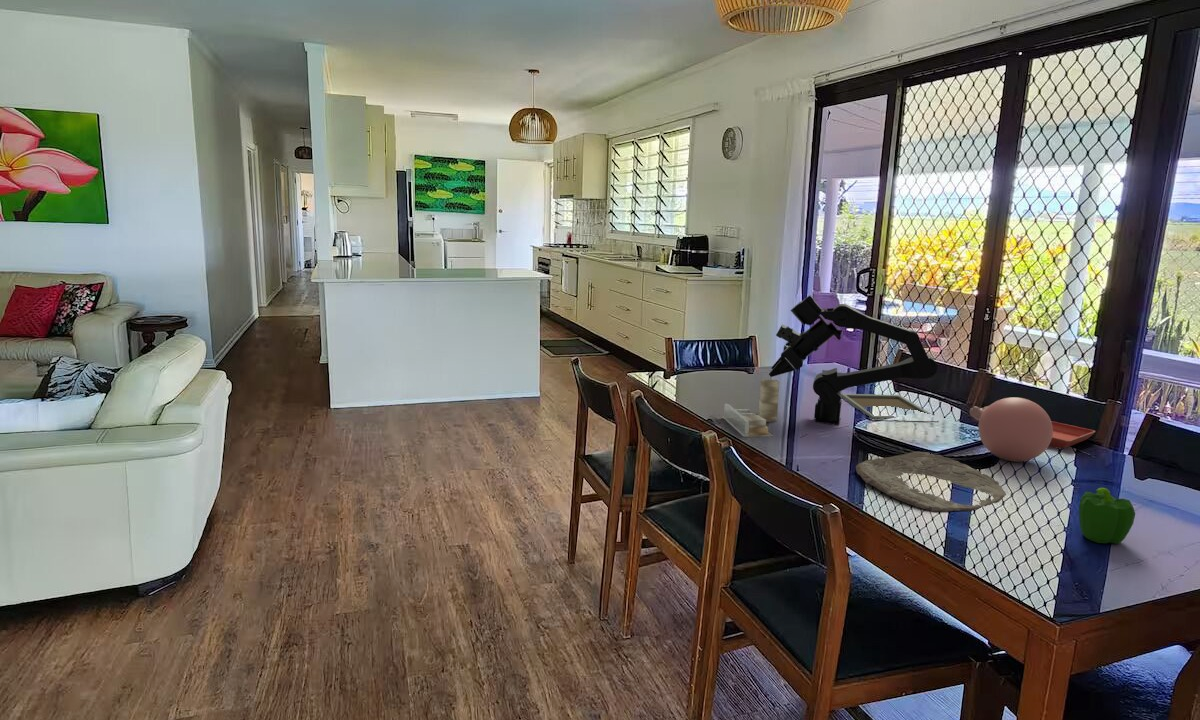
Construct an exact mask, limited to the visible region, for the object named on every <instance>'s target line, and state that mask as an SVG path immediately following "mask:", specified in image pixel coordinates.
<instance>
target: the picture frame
mask: <svg viewBox="0 0 1200 720" xmlns="http://www.w3.org/2000/svg"><path fill="white" fill-rule="evenodd" d="M841 399H843V400H845V402H847V403H849V404H850V405H851V406H852V407H854V408H855V409H856V410H858V411H859V410H860V411H859V412H861V411H862V412H863V413H865V414H866V415H868V416H869V417H871V418H889V417H894V416H874V415H873V414H871V413H870V412H869V411H867V410H866V409H864V407H871V406H876V407H878V406H886V405H887V406H891V407H894V406H895V407H899V408H902V409H903V408H904V409H909V410H910V409H911V410H918V411H920V412H924V413H927V414H932V413H931V412H929V411H928V410H927V409H926V410H925V409H924V408H923V407H920V406H919V405H917V404H916V403H914V402H912V401H910V400H909V399H907V398H905V397H903V396H902V395H900V394H875V393H874V394H872V393H871V394H870V393H841ZM862 412H861V413H862ZM863 413H862V414H863ZM865 414H864V415H865ZM866 415H865V416H866ZM869 417H868V418H869Z"/></svg>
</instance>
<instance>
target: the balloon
mask: <svg viewBox="0 0 1200 720" xmlns="http://www.w3.org/2000/svg"><path fill="white" fill-rule="evenodd" d="M969 414H970V416H971V417H972V418H974V419H975V421H978V427H977V428H978V433H979V435H978V436H979V438H980V440H981V442H982V444H983V446H984V447H985V448H986V449H987V450H988V451H989V452H990V453H991V454H992V455H994V456H995V457H997V458H1000V459H1002V460H1005V461H1008V462H1016V463H1017V462H1019V463H1020V462H1026V461H1030V460H1033V459H1035V458H1037V457H1040V455H1042V454H1043V453H1044V452H1045V451H1046V450H1047V449H1048V448H1049V447H1050V446H1049V444H1050V442H1051V440H1052V436H1053V426H1052V422H1051V421H1052V420H1051V418H1050V416H1049V414H1048V413H1047V411H1046V410H1045V409H1044V408H1043V407H1041V406H1040V405H1039V404H1038V403H1036V402H1034V401H1032V400H1030V399H1028V398H1024V397H1017V396H1016V397H1014V396H1013V397H1004V398H1002V399H998V400H996V401H994V402H993V403H991V404H990V405H987V406H984V407H978V406H977V405H976V406H975V405H974V406H973V407H971V408H970V409H969Z"/></svg>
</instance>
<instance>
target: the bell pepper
mask: <svg viewBox="0 0 1200 720" xmlns="http://www.w3.org/2000/svg"><path fill="white" fill-rule="evenodd" d="M1095 491H1096V492H1091V491H1085V492H1084V494H1083V495H1082V496H1081V498H1080V500H1079V506H1078V507H1079V508H1078V517H1079V518H1078V519H1079V526H1080V531H1081V533H1082V534H1083V536H1084V538H1086V539H1087V540H1090V541H1091V542H1094V543H1097V544H1109V543H1110V544H1117V545H1119V544H1121V542H1123V541H1124V540H1125V539H1126V537H1127V535H1129V532H1130V530H1131V529H1132V526H1133V525H1134V522H1135V518H1136V517H1135V516H1136V511H1135V509H1134V505H1133V504H1132V502H1131V500H1130V499H1126V498H1115V496H1112V494H1111V491H1110V490H1109V489H1108V488H1106V487H1099V488H1097V489H1096V490H1095Z"/></svg>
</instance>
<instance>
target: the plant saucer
mask: <svg viewBox="0 0 1200 720" xmlns="http://www.w3.org/2000/svg"><path fill="white" fill-rule="evenodd" d="M1051 422H1052V426H1053V436H1052V440H1051V442H1050V444H1049V446H1048V447H1051V448H1056V449H1061V450H1063V449H1067V448H1069V447H1072V446H1074V445H1076V444H1079V443H1082V442H1084V441H1086V440H1088V439H1089V438H1090V437H1092V436H1093V435H1094V434H1095V433H1096V430H1094V429H1089V428H1086V427H1079V426H1076V425H1073V424H1072V425H1070V424H1067V423H1061V422H1057V421H1052V420H1051Z"/></svg>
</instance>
